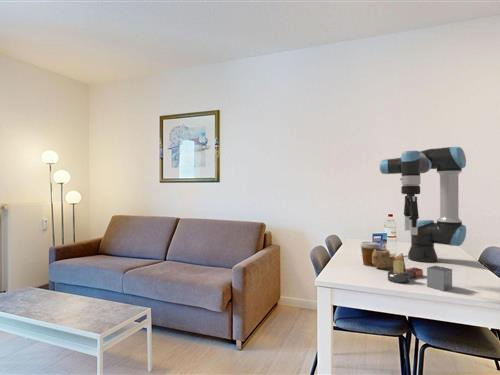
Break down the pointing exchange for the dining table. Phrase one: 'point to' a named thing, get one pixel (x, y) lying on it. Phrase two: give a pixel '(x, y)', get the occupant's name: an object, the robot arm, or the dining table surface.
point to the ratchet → (403, 273)
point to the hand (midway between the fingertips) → (410, 232)
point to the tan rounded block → (385, 259)
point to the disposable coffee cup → (368, 252)
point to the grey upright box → (439, 278)
